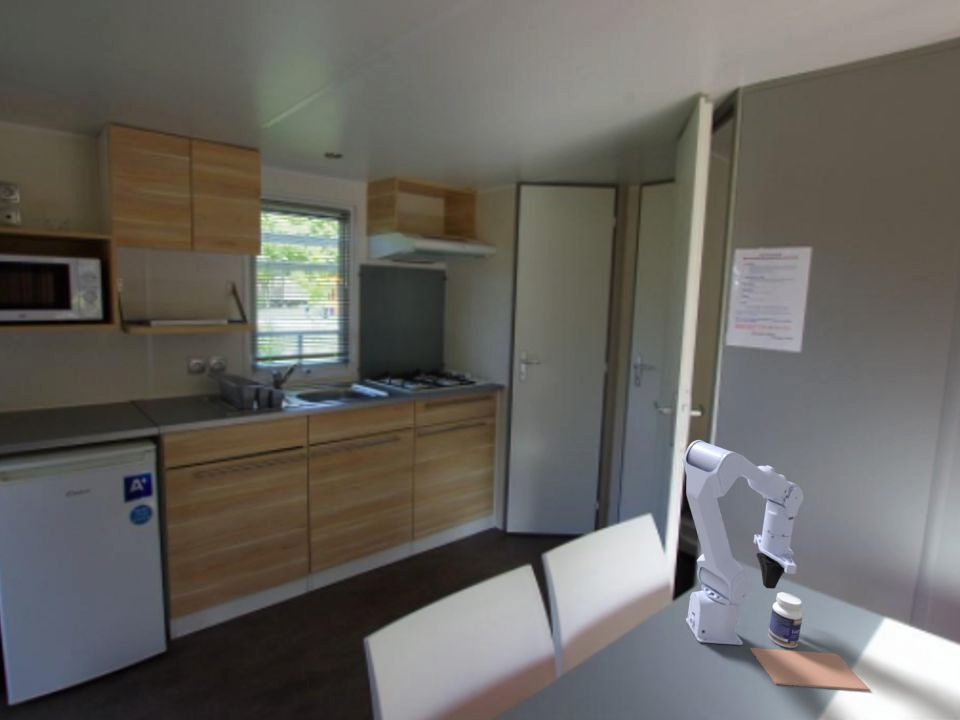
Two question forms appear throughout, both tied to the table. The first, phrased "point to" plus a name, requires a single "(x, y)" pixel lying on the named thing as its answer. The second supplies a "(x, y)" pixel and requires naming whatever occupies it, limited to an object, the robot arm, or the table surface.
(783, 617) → the pill bottle
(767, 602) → the table surface
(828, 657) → the mat
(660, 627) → the table surface
